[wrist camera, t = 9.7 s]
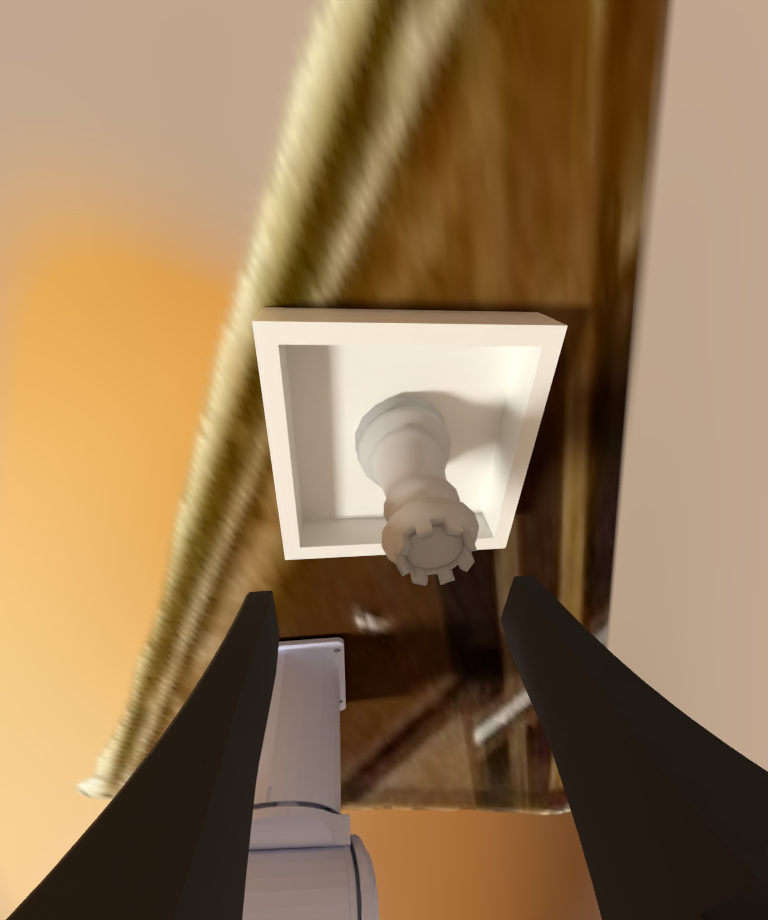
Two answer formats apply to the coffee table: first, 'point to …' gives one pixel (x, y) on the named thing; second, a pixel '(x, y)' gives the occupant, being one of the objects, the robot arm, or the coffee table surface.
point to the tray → (398, 375)
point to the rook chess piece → (416, 489)
